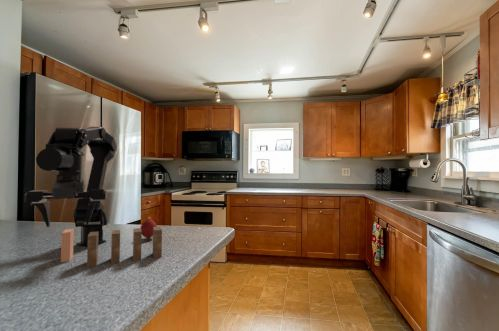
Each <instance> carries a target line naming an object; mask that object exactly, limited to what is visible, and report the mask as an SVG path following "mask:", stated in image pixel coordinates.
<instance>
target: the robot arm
mask: <svg viewBox="0 0 499 331" xmlns="http://www.w3.org/2000/svg"><path fill="white" fill-rule="evenodd" d="M85 146H87V147H88V148H89V152H90V154H91V156H92V158H93V159H92V164H91V165H92V166H91V170H90V173H89V178H88V182H87V187H86V191H85V180H84V179H82V167H83V166H82V161H83V156H84V155H85V154H84V152H83V151H82V149H83V148H84V147H85ZM117 148H118V147H117V142H116V140H115V138H114V137H113V136H112V135H111V134H110V133H108V132H107V131H106V129H105V127H103V126H88V127H65V126H64V127H63V126H62V127H61V126H60V127H59V126H58V127H56V128H55V129H54V131H53V132H52V134H51V136H50V137H49V140H48V142H47V143H46V144H45V148H43V149H42V150H40V151H39V152H38V154H37V156H36V158H35V161H36V164H37V166H38V167H39V168H40V169H41V170H44V171H46V172H56V180H55V182H54V184H53V185H52V186H51V191H52V192H49V190H47V189H41V190H39V189H37V190H29V191H26V192H25V193H24V195H23V202H24V203H30V206H35V207H36V208H37V209H38V211H39V212H40V214H41V216H42V219H43V221H44V224H45V225H46V227H47V228H50V227H51V202H50V200H61V199H62V200H63V199H67V200H72V199H78V200H77V202H76V207H75V209H74V210H73V218H74V219H73V220H74V225H75V228H78V227H80V241H78V242H75V243H76V246H77V245H78V246H84V247H85V246H86V247H88V235H89V233H90V232H98V245H99V244H102V243H105V242H107V240H106V239H104V229H103V227H104V226H107V225H108V222H109V217H108V215H107V212H106V210H105V205H104V202H103V200H106V199H108V191H107V189H106V188H104V183H105V179H106V173H107V168H108V163H109V162H110V161H111V160H112V159H113V158H114V156H115V154H116V152H117Z"/></svg>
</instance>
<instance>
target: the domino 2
mask: <svg viewBox="0 0 499 331" xmlns="http://www.w3.org/2000/svg"><path fill="white" fill-rule="evenodd" d="M110 243H111V250H110V251H111V252H110V254H111V255H110V257H111V258H110V264H111V265H114V264H120V260H121V259H120V258H121V256H120V255H121V229H115V230H114V229H113V230H112V231H111V242H110Z"/></svg>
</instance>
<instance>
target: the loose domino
mask: <svg viewBox="0 0 499 331" xmlns="http://www.w3.org/2000/svg"><path fill="white" fill-rule="evenodd" d="M74 232H75V228H66V229H65V230H63V231H62V232H61V244H60V245H61V248H60V249H61V251H60V263H66V262H70V261H71V260H72V259H73V257H74V236H75V234H74Z"/></svg>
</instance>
